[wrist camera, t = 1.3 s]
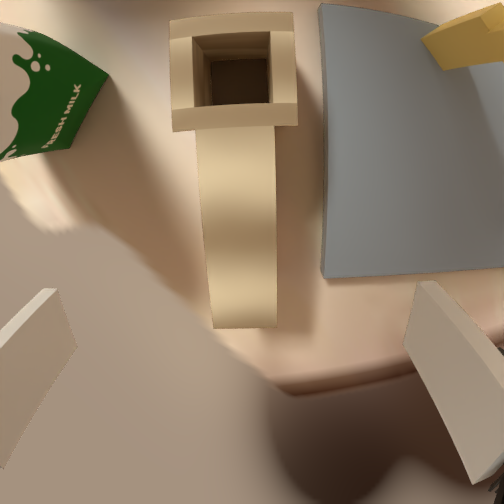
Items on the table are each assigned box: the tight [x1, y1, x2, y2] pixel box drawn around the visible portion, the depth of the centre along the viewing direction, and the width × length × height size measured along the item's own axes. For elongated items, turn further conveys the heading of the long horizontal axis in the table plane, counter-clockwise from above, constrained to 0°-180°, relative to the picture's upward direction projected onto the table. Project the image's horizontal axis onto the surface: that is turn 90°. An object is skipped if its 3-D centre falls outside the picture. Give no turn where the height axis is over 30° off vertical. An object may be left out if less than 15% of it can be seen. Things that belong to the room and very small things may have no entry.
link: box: [169, 12, 298, 329], centre depth 19 cm, size 18×6×7 cm, turn 2°
